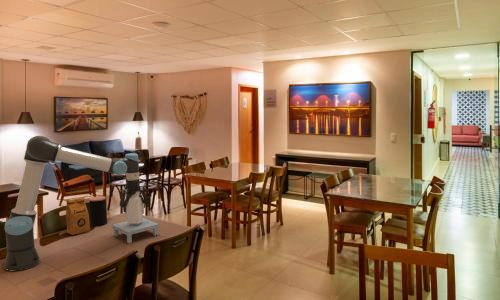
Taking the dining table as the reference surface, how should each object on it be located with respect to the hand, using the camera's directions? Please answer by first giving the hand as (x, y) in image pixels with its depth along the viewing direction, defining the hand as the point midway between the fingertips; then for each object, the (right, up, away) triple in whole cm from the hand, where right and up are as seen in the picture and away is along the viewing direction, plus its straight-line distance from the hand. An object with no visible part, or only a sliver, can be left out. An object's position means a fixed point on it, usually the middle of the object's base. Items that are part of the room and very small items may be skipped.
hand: (134, 215), depth 221 cm
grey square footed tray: (0, -13, +1) cm, 13 cm away
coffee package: (-38, -13, +9) cm, 41 cm away
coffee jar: (-32, -11, +25) cm, 42 cm away
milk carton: (0, -4, +1) cm, 4 cm away
